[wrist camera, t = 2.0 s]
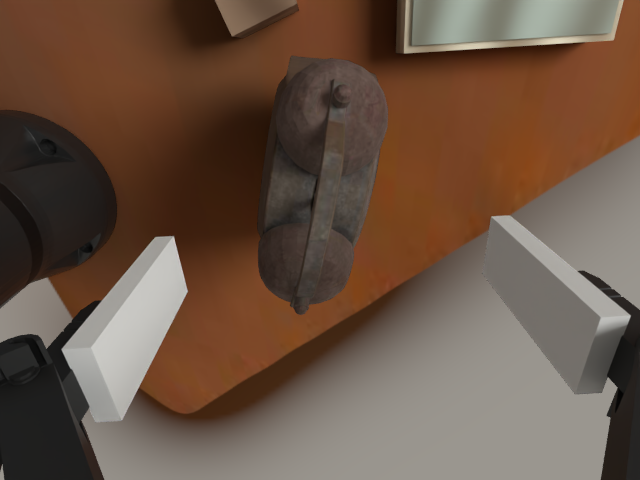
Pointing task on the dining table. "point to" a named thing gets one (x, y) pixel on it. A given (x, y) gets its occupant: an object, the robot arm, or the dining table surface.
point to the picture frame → (502, 23)
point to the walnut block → (253, 14)
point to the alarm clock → (318, 177)
